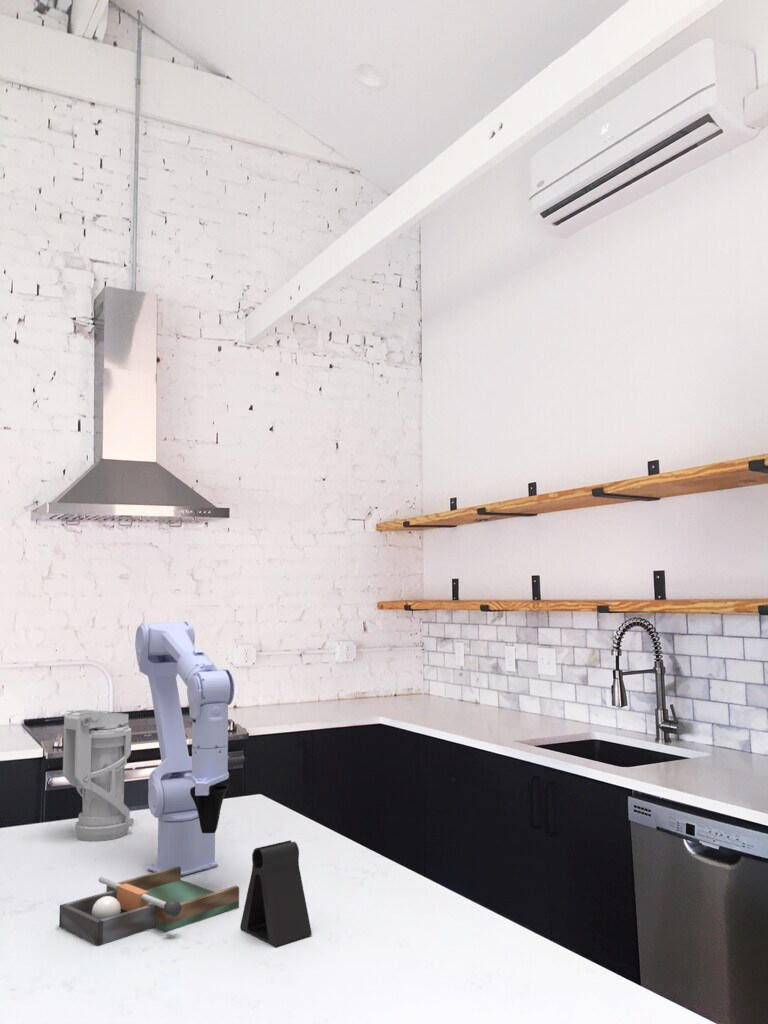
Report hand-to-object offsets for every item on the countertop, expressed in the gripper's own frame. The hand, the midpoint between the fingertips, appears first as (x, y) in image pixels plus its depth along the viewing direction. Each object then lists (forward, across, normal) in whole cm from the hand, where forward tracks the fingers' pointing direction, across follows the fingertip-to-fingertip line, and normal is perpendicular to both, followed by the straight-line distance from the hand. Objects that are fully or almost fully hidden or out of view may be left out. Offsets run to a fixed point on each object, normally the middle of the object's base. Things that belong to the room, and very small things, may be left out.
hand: (209, 832), depth 141 cm
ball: (+7, +14, -12) cm, 20 cm away
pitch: (+9, +9, -8) cm, 15 cm away
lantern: (+10, -36, -28) cm, 46 cm away
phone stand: (+10, +18, +12) cm, 23 cm away
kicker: (+8, +12, -9) cm, 17 cm away
